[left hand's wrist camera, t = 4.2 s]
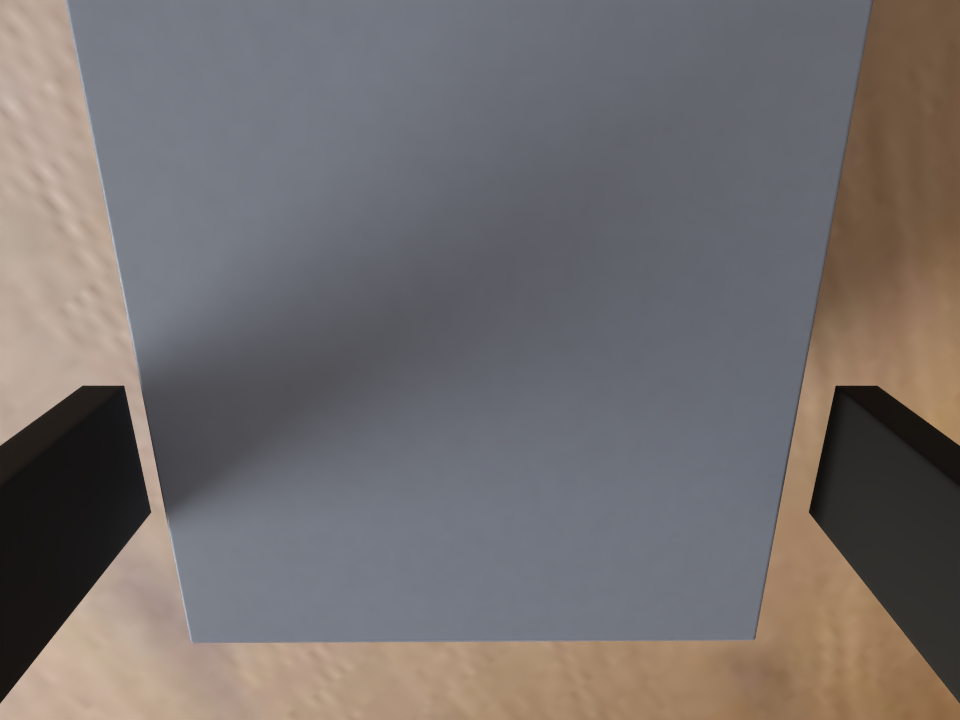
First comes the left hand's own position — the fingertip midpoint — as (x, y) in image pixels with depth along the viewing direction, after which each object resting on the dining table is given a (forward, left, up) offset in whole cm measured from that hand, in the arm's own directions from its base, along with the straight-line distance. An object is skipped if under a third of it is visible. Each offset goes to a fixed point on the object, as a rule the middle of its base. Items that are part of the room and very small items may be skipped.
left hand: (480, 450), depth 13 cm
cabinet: (+7, -1, -10) cm, 12 cm away
